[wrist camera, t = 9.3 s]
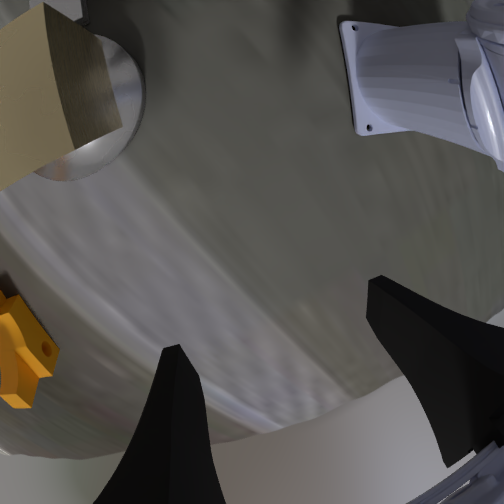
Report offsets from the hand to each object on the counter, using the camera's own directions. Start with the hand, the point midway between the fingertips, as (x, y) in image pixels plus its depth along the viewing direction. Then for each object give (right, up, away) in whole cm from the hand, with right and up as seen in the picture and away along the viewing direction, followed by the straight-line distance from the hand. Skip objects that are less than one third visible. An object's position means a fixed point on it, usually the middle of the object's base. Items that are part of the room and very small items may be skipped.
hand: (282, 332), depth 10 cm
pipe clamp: (-21, -1, +7) cm, 23 cm away
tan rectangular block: (-10, +10, +1) cm, 15 cm away
